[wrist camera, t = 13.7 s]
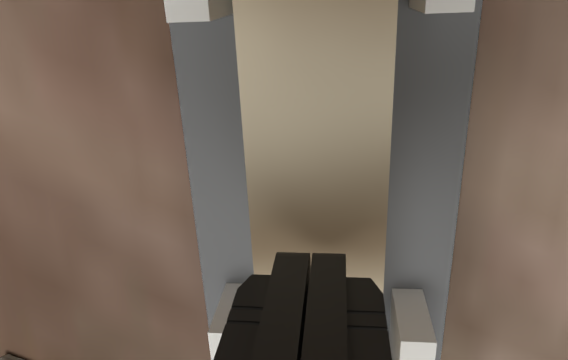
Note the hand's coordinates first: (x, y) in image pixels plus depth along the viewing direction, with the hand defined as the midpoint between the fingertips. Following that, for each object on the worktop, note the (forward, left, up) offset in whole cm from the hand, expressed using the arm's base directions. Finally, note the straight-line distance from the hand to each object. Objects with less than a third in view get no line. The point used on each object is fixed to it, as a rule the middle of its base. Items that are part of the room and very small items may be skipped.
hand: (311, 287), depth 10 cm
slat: (0, 0, -7) cm, 7 cm away
